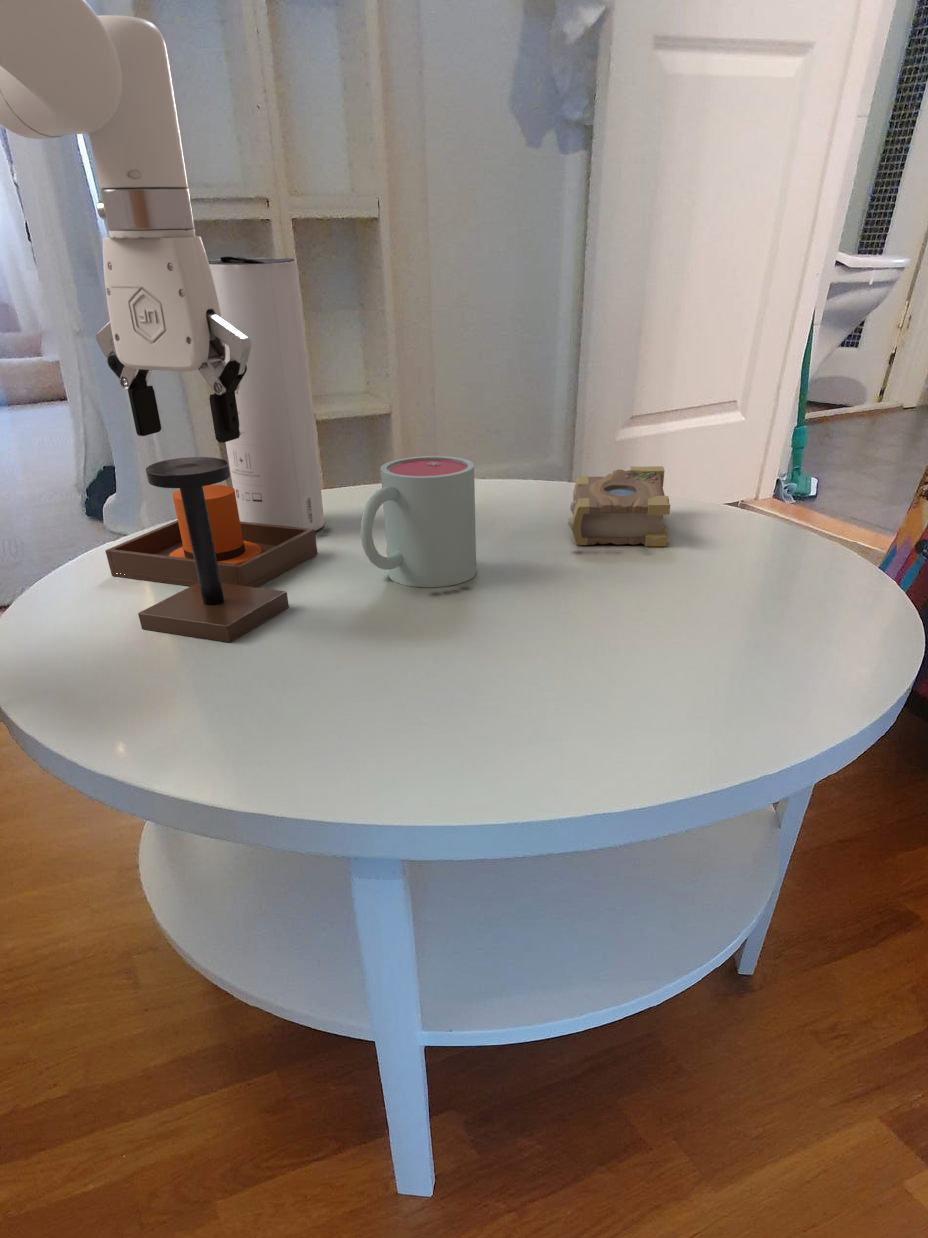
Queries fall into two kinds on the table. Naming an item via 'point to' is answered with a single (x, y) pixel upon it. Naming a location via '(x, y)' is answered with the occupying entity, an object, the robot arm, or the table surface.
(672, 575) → the table surface
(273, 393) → the white cylindrical canister
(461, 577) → the mug
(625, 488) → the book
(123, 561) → the tray
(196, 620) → the hat stand
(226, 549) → the hat
